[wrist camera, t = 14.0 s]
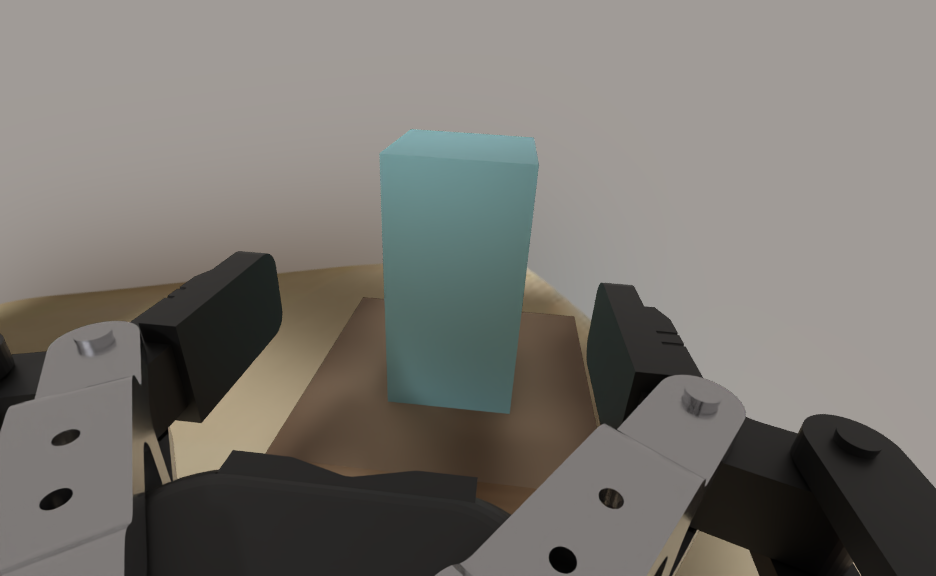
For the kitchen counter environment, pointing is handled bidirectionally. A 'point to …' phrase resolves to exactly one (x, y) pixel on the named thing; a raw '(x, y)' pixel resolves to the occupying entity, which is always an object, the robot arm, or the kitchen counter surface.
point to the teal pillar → (455, 265)
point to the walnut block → (444, 414)
